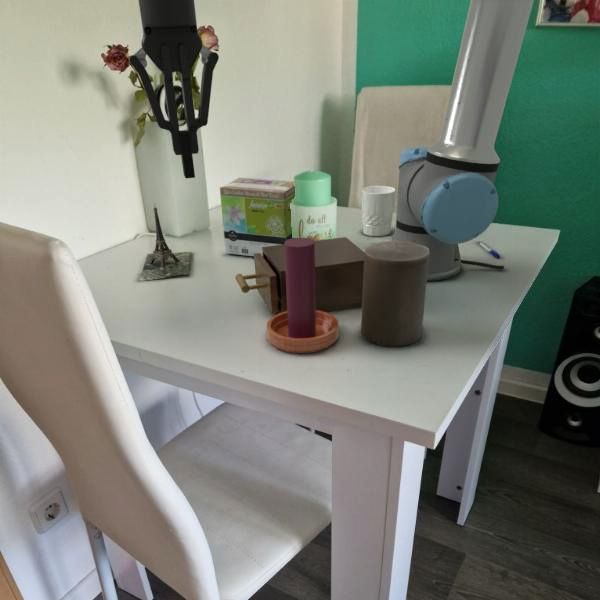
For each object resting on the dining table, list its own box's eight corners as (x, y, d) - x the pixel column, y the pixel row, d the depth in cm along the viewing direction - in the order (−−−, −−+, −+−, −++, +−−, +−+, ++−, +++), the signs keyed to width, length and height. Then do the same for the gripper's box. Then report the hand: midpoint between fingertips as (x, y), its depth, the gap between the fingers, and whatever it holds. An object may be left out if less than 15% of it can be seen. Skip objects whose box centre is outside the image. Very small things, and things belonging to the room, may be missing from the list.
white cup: (395, 236, 132) (397, 193, 127) (361, 237, 132) (363, 194, 127) (390, 227, 139) (393, 185, 133) (359, 228, 139) (360, 186, 133)
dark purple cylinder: (311, 326, 91) (309, 235, 83) (319, 338, 88) (318, 244, 80) (285, 330, 90) (281, 239, 82) (292, 342, 87) (288, 248, 79)
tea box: (224, 255, 124) (217, 186, 116) (243, 242, 132) (238, 176, 124) (287, 261, 120) (284, 190, 112) (303, 247, 128) (301, 179, 119)
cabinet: (282, 318, 96) (280, 271, 91) (264, 290, 107) (261, 247, 102) (371, 305, 100) (373, 259, 95) (345, 279, 110) (345, 236, 106)
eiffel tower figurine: (189, 277, 114) (180, 210, 106) (139, 280, 113) (126, 213, 105) (191, 253, 126) (183, 192, 119) (146, 256, 125) (135, 195, 118)
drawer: (247, 317, 95) (244, 279, 91) (234, 291, 104) (230, 256, 101) (355, 301, 99) (356, 264, 95) (333, 277, 109) (333, 244, 105)
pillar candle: (380, 352, 85) (386, 256, 76) (350, 327, 92) (352, 237, 84) (434, 339, 88) (445, 245, 80) (400, 316, 95) (407, 228, 87)
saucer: (325, 318, 95) (325, 304, 94) (348, 348, 86) (348, 333, 85) (260, 328, 93) (259, 314, 92) (277, 359, 84) (276, 345, 82)
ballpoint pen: (501, 259, 118) (502, 254, 117) (497, 259, 118) (498, 255, 117) (479, 244, 127) (480, 239, 126) (476, 244, 127) (477, 240, 126)
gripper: (209, -5, 80) (225, 168, 93) (116, -4, 78) (146, 175, 91) (217, -9, 74) (233, 177, 87) (116, -8, 71) (149, 185, 84)
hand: (189, 176), depth 89 cm, fingers closed
